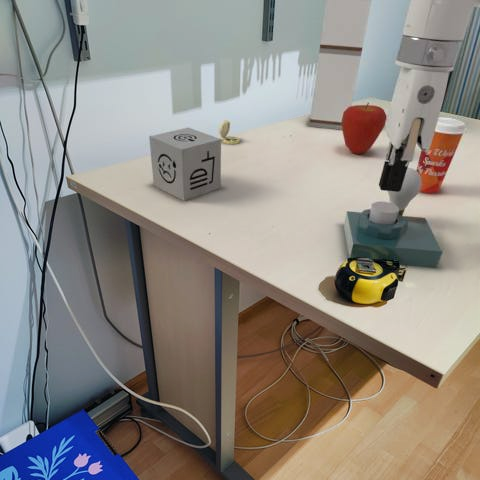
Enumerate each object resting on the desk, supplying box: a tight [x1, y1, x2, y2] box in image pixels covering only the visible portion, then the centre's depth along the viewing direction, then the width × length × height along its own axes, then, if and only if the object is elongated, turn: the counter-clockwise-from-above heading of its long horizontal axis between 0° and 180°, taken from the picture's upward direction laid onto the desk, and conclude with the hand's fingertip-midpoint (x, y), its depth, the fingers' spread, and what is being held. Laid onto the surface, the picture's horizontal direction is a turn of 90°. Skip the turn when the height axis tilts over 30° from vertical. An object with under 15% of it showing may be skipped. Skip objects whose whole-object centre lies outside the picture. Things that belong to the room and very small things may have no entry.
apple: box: [342, 102, 388, 155], centre depth 108 cm, size 11×11×12 cm
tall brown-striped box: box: [308, 0, 373, 131], centre depth 121 cm, size 11×11×35 cm
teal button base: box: [343, 208, 443, 268], centre depth 72 cm, size 14×12×5 cm
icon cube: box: [148, 127, 222, 202], centre depth 86 cm, size 10×10×10 cm
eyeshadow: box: [218, 120, 240, 145], centre depth 113 cm, size 4×5×5 cm
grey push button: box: [369, 200, 399, 225], centre depth 70 cm, size 4×4×2 cm
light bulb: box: [387, 167, 422, 216], centre depth 78 cm, size 6×6×10 cm
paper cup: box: [415, 116, 467, 195], centre depth 90 cm, size 8×8×14 cm
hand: (389, 188), depth 67 cm, fingers closed
